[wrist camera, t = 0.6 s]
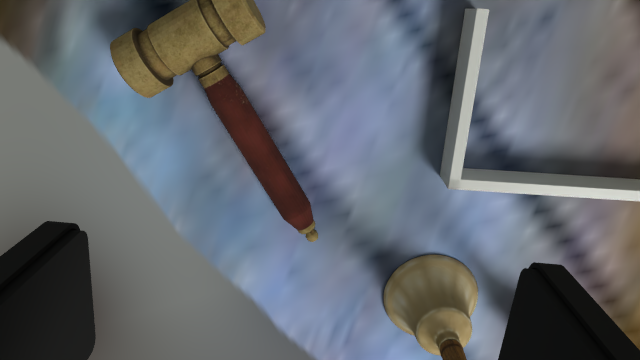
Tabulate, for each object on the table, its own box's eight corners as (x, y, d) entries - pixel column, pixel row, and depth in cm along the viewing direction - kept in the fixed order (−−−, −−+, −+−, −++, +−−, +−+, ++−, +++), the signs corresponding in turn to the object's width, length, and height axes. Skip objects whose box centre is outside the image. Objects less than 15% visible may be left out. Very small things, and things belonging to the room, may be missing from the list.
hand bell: (485, 257, 42) (572, 396, 27) (468, 337, 45) (540, 504, 30) (389, 250, 42) (423, 386, 27) (378, 331, 45) (404, 495, 30)
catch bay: (465, 8, 36) (477, 8, 33) (761, 28, 36) (798, 30, 33) (439, 175, 40) (448, 188, 37) (704, 192, 40) (733, 207, 37)
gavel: (371, 228, 38) (260, 280, 40) (365, 202, 42) (265, 250, 44) (227, -32, 31) (98, 45, 33) (237, -31, 35) (122, 37, 37)
